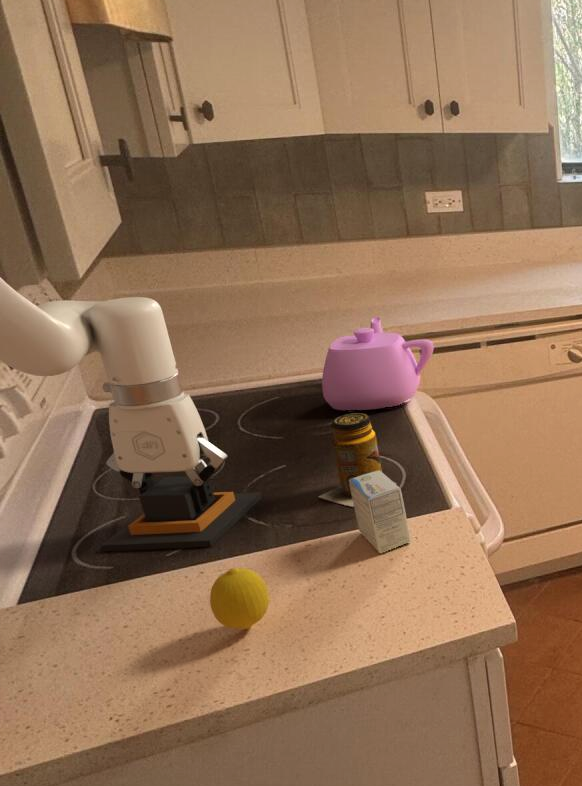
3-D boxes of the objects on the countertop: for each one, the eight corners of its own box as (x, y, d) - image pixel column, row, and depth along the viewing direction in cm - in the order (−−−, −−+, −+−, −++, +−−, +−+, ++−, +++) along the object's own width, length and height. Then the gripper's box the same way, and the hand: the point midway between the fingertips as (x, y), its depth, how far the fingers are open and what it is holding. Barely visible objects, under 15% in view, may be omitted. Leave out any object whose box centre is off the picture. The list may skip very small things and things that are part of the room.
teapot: (436, 410, 154) (425, 336, 149) (319, 420, 149) (303, 344, 144) (448, 373, 175) (438, 308, 169) (345, 381, 170) (332, 314, 164)
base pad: (102, 551, 106) (96, 535, 105) (165, 502, 119) (160, 487, 118) (211, 546, 107) (206, 530, 106) (261, 498, 120) (258, 483, 119)
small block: (146, 521, 109) (138, 496, 108) (172, 501, 115) (165, 476, 113) (191, 519, 109) (184, 494, 108) (215, 499, 115) (208, 475, 114)
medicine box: (412, 543, 108) (402, 487, 105) (378, 555, 105) (367, 498, 102) (390, 522, 113) (380, 468, 110) (358, 533, 110) (347, 478, 107)
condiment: (397, 484, 124) (385, 414, 120) (353, 507, 117) (338, 434, 113) (363, 475, 127) (350, 407, 123) (318, 498, 120) (302, 426, 116)
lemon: (264, 607, 94) (249, 550, 91) (283, 626, 91) (268, 567, 88) (212, 630, 90) (194, 571, 87) (230, 650, 87) (212, 589, 84)
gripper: (59, 401, 101) (98, 523, 108) (199, 397, 103) (230, 518, 109) (99, 382, 108) (134, 497, 115) (229, 378, 110) (257, 493, 116)
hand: (180, 506), depth 112 cm, fingers closed on small block, 5 cm apart
